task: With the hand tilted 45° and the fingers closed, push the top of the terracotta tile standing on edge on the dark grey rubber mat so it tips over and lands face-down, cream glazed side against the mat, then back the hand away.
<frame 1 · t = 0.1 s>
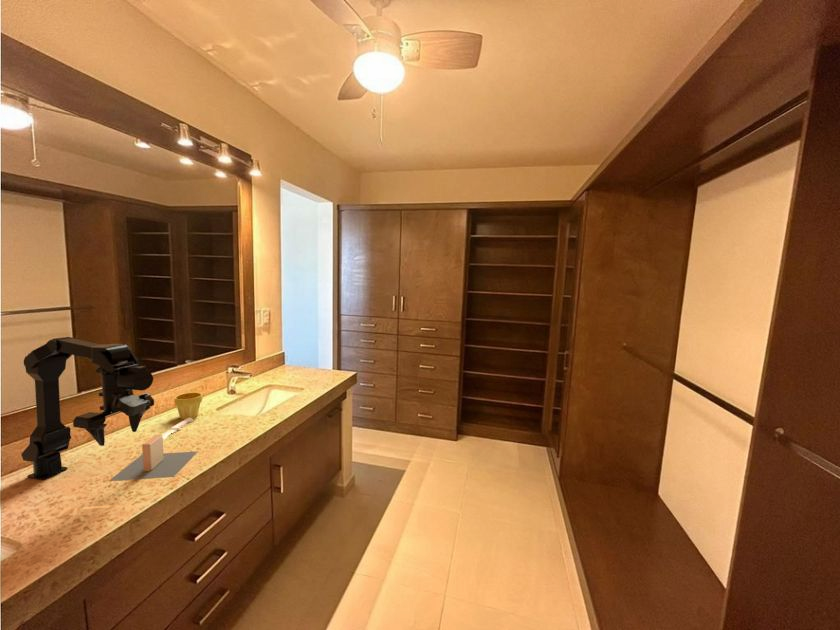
hand: (118, 438, 101), 15 cm above the table, tool pointing down, fingers open, 9 cm apart
plant pot: (189, 416, 154), on the table
knife: (170, 437, 135), on the table
tile: (153, 465, 113), point 1 cm above the table, touching mat
mat: (157, 466, 113), on the table
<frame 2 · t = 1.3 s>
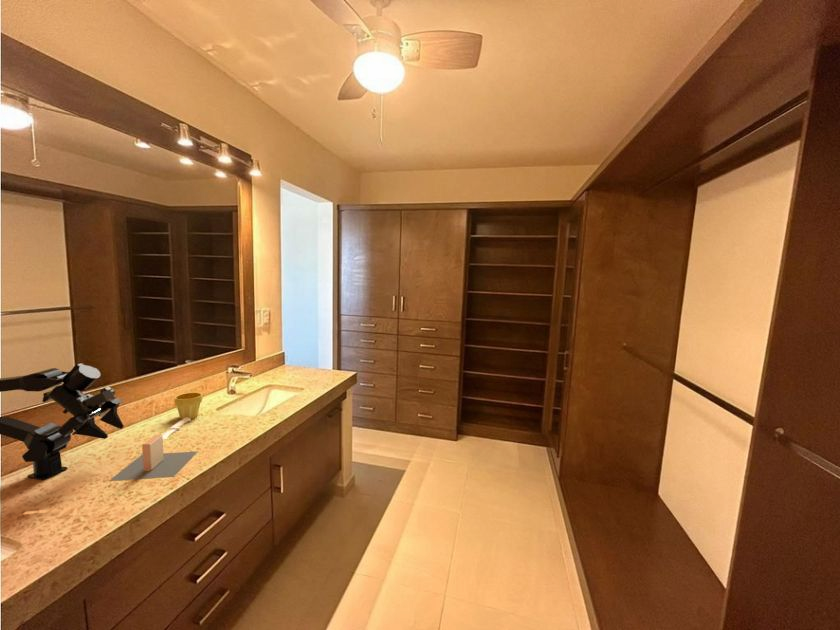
hand: (114, 432, 110), 12 cm above the table, tool tilted 45°, fingers open, 7 cm apart
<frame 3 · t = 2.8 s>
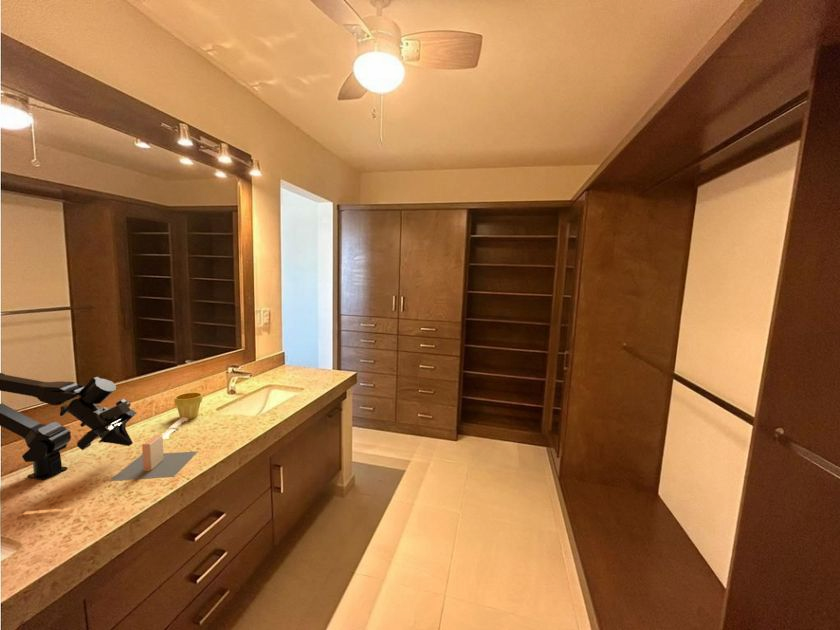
hand: (131, 444, 111), 8 cm above the table, tool tilted 45°, fingers closed
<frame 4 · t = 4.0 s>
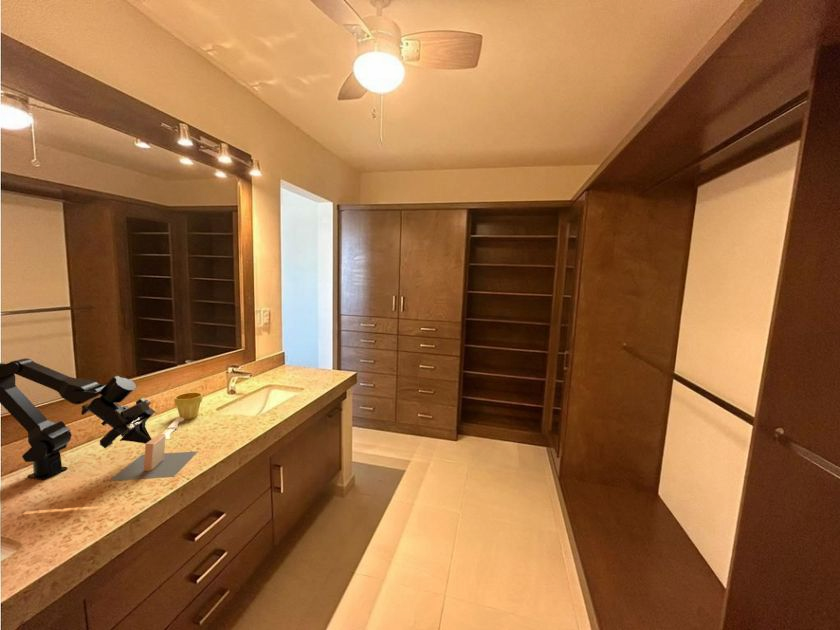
hand: (151, 442, 112), 8 cm above the table, tool tilted 45°, fingers closed, pressing on tile
tile: (153, 464, 113), point 1 cm above the table, tilted 6°, touching gripper, mat
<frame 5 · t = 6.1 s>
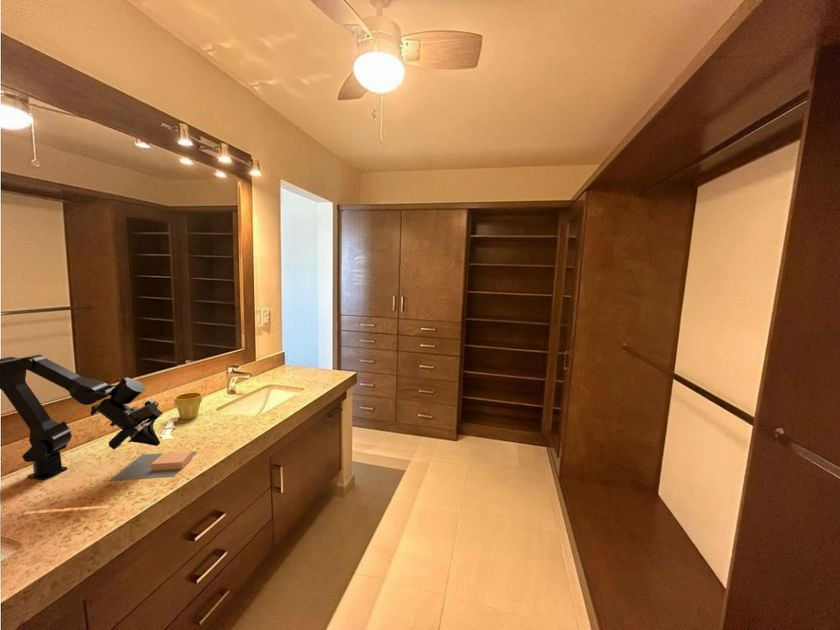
hand: (158, 444, 112), 8 cm above the table, tool tilted 45°, fingers closed
tile: (157, 461, 113), point 2 cm above the table, tilted 90°, touching mat
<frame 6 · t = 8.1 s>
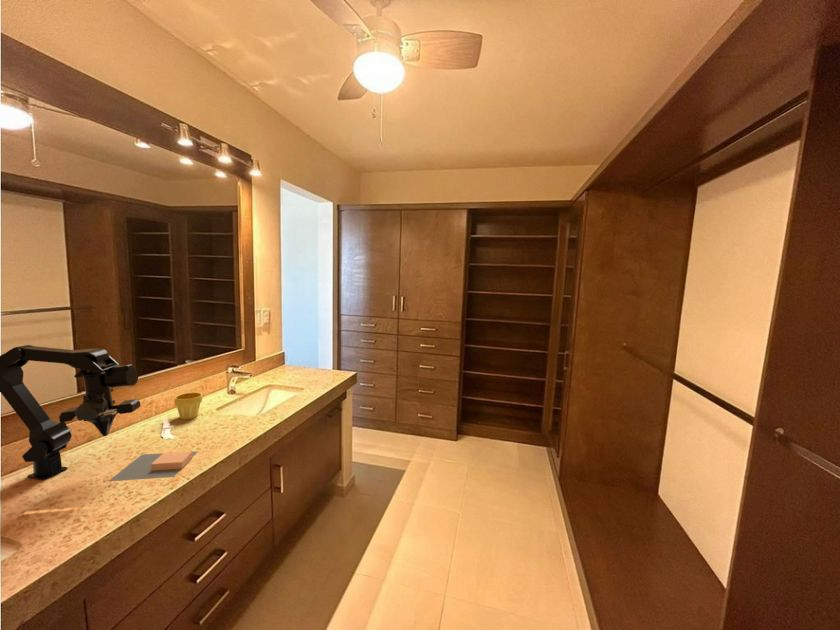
hand: (105, 435, 109), 12 cm above the table, tool pointing down, fingers closed
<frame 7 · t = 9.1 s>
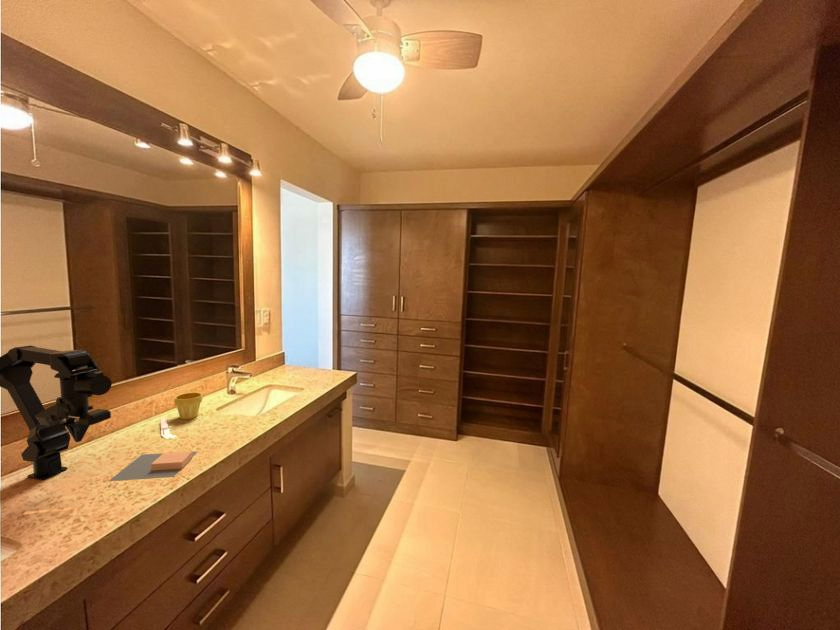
hand: (78, 441, 104), 12 cm above the table, tool pointing down, fingers closed
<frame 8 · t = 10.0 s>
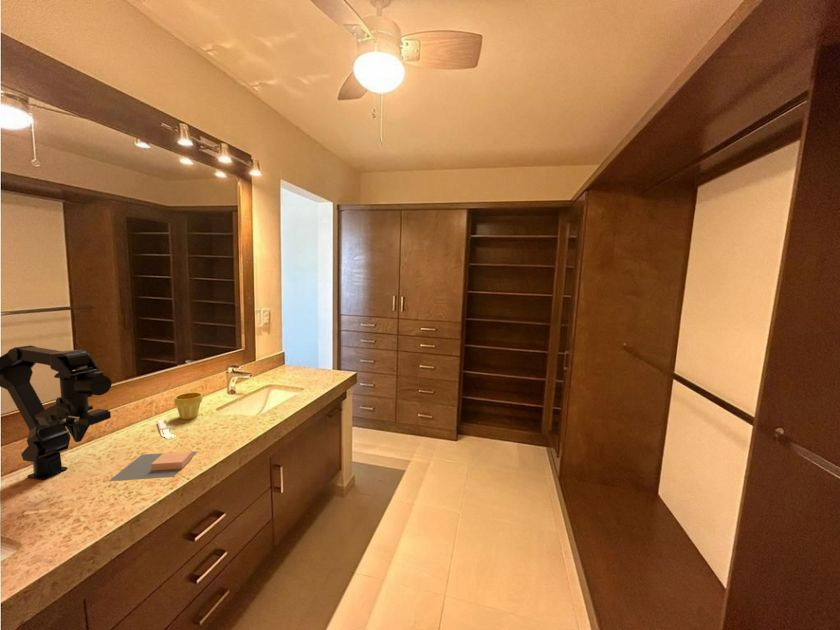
hand: (78, 441, 104), 12 cm above the table, tool pointing down, fingers closed
at the end: tile tilted 90°; tile inside the target area on the mat (0.2 cm from its centre), point 1.9 cm above the mat's base; tile touching mat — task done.
